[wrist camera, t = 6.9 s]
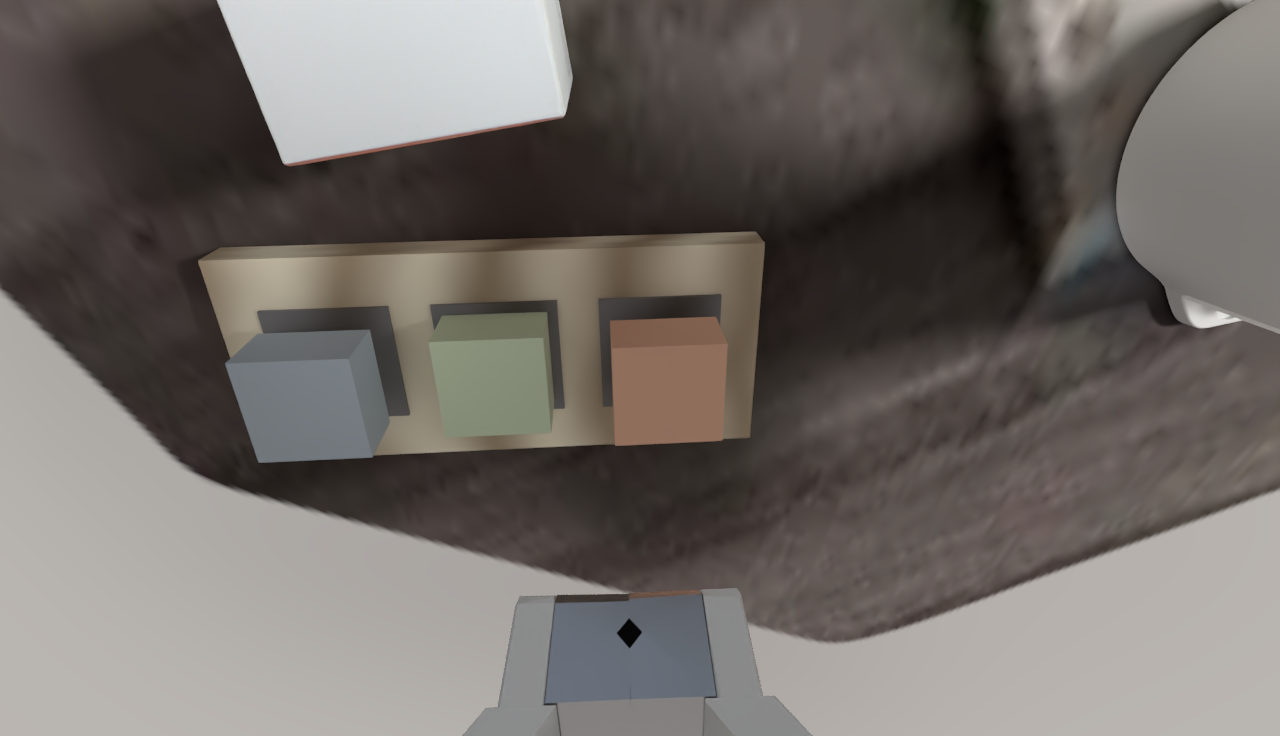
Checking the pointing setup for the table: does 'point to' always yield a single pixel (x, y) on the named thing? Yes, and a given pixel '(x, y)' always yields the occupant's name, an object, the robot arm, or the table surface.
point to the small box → (398, 70)
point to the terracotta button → (668, 380)
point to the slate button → (310, 395)
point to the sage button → (493, 374)
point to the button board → (492, 284)
